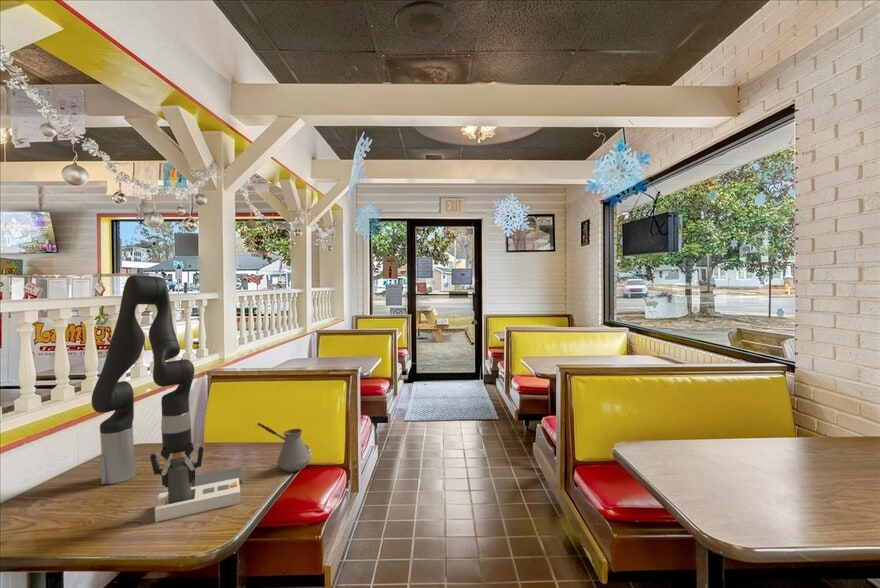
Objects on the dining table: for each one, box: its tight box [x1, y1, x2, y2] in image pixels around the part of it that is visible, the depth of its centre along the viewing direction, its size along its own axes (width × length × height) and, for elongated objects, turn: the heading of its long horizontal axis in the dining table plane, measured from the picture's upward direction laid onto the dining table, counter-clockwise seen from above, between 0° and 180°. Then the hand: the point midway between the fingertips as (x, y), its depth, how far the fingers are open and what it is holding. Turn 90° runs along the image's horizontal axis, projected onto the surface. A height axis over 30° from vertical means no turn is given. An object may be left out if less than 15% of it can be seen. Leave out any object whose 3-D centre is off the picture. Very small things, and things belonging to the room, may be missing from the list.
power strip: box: [154, 478, 242, 523], centre depth 139 cm, size 22×11×4 cm, turn 116°
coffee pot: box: [255, 422, 312, 473], centre depth 166 cm, size 21×12×15 cm, turn 71°
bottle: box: [167, 451, 192, 504], centre depth 137 cm, size 6×6×15 cm
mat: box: [193, 466, 243, 487], centre depth 155 cm, size 14×12×1 cm
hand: (179, 483), depth 137 cm, fingers closed on bottle, 6 cm apart
